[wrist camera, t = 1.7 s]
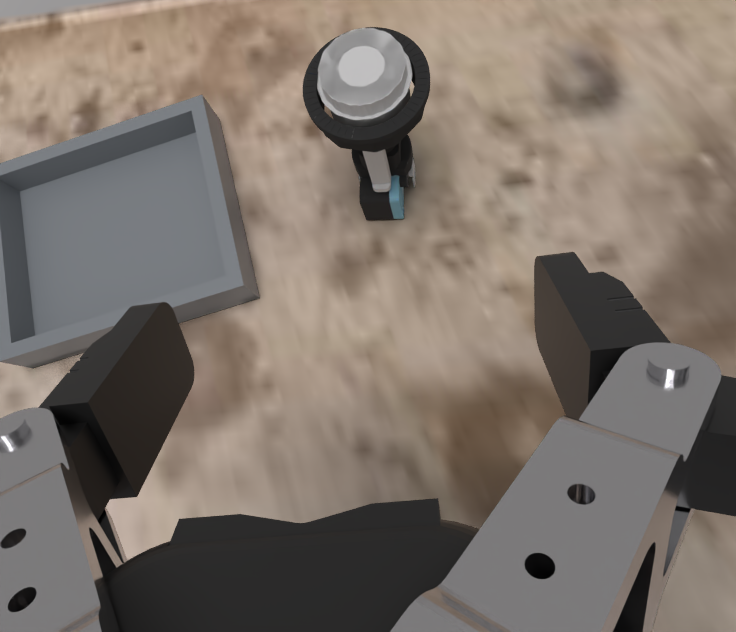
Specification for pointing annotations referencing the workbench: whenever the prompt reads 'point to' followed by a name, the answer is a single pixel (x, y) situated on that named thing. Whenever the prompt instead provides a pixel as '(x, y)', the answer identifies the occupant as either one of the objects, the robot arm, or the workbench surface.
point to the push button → (371, 109)
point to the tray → (118, 232)
